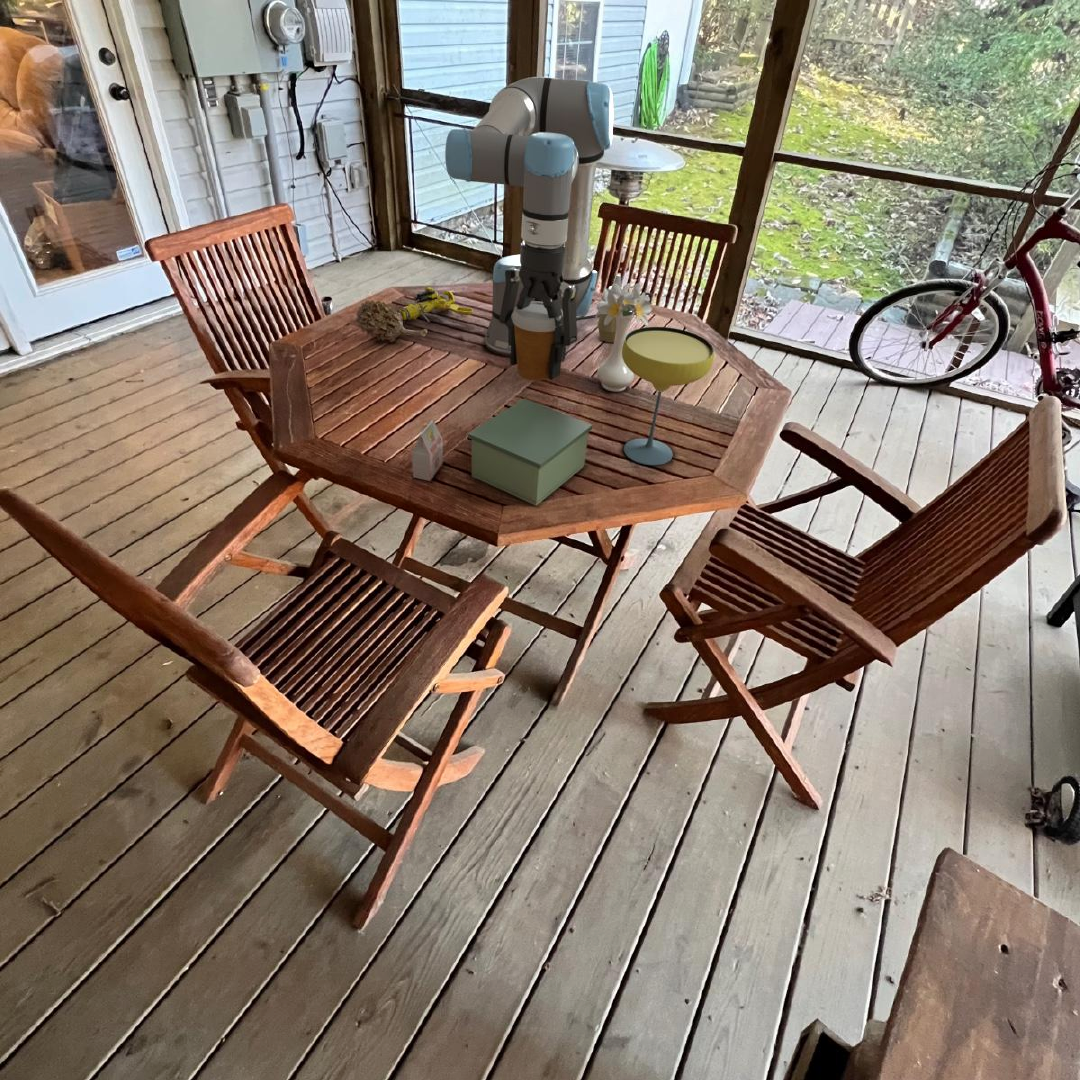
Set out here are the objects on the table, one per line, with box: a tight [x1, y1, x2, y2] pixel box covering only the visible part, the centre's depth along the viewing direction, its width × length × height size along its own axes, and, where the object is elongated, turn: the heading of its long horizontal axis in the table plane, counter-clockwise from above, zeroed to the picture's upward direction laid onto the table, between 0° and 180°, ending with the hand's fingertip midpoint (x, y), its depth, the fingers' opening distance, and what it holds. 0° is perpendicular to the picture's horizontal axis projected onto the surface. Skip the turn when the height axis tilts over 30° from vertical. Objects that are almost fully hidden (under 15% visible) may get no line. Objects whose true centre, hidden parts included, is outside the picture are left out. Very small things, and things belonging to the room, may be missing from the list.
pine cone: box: [355, 299, 428, 343], centre depth 183 cm, size 22×10×10 cm, turn 70°
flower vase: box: [593, 282, 653, 393], centre depth 167 cm, size 13×18×25 cm
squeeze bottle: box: [597, 274, 624, 343], centre depth 192 cm, size 8×8×18 cm
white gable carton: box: [411, 419, 444, 482], centre depth 137 cm, size 4×7×10 cm, turn 165°
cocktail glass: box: [622, 326, 715, 467], centre depth 143 cm, size 18×18×25 cm
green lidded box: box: [467, 398, 594, 507], centre depth 139 cm, size 19×17×10 cm
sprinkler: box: [399, 286, 474, 323], centre depth 200 cm, size 19×8×20 cm
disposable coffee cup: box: [511, 302, 563, 382], centre depth 124 cm, size 10×10×12 cm
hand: (534, 369), depth 128 cm, fingers closed on disposable coffee cup, 8 cm apart
